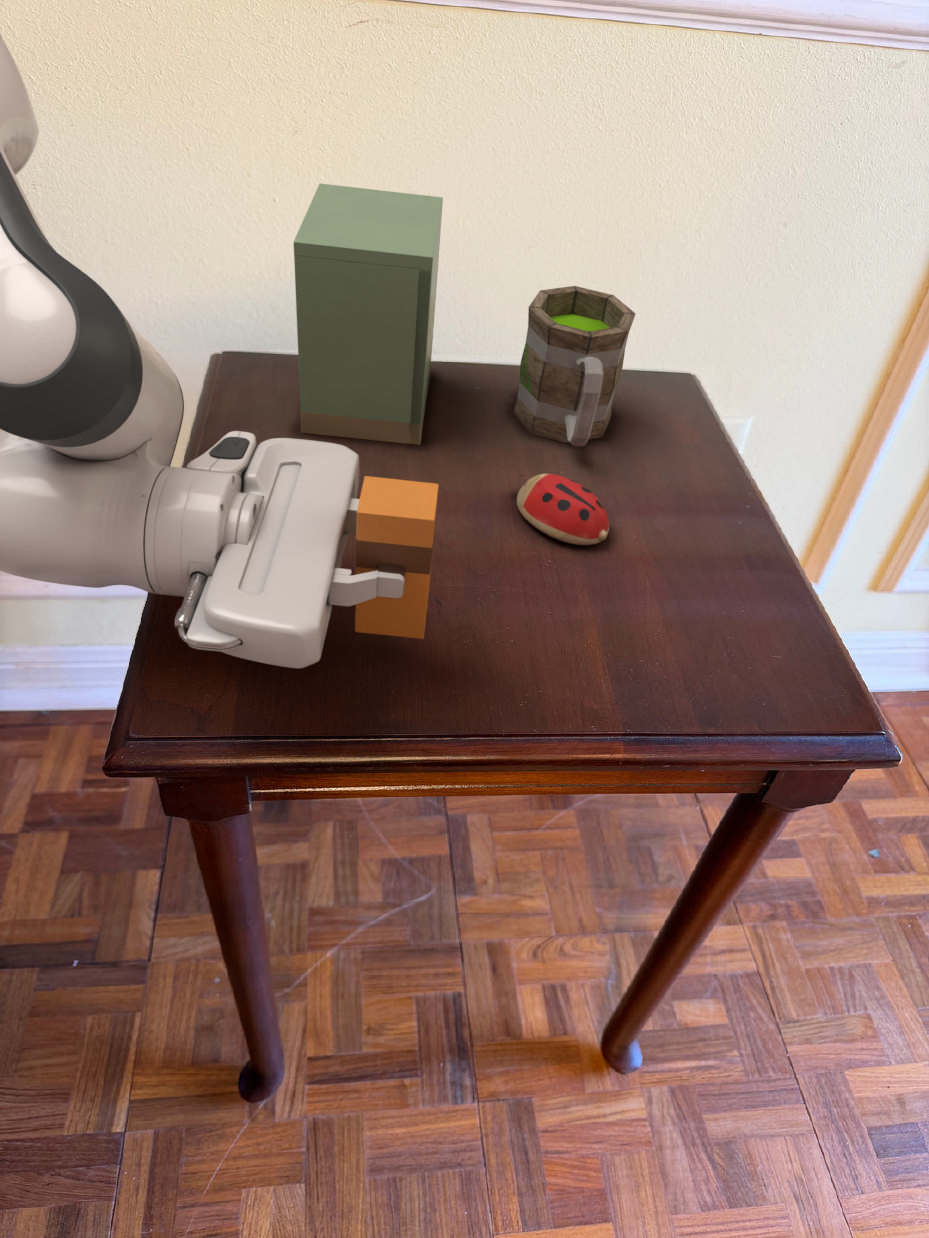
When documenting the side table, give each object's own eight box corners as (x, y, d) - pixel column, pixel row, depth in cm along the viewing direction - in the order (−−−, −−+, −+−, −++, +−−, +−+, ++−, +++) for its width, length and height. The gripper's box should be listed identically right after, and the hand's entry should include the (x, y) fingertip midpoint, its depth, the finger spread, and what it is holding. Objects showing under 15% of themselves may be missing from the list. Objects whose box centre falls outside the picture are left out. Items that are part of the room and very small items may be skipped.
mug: (508, 386, 100) (522, 282, 92) (602, 391, 101) (625, 289, 93) (522, 469, 89) (540, 360, 81) (628, 474, 90) (657, 366, 82)
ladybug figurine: (541, 483, 88) (547, 453, 85) (625, 530, 84) (633, 500, 81) (498, 512, 84) (503, 481, 81) (583, 563, 80) (591, 532, 77)
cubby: (301, 432, 90) (293, 241, 76) (323, 363, 100) (319, 183, 86) (420, 445, 90) (433, 257, 77) (430, 374, 100) (443, 197, 87)
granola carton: (354, 632, 65) (356, 512, 57) (361, 594, 68) (364, 475, 60) (423, 639, 65) (434, 520, 57) (428, 601, 68) (439, 483, 60)
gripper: (157, 606, 52) (394, 629, 52) (238, 417, 67) (422, 437, 67) (172, 677, 56) (390, 699, 57) (244, 486, 71) (418, 504, 72)
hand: (408, 555), depth 62 cm, fingers closed on granola carton, 4 cm apart
